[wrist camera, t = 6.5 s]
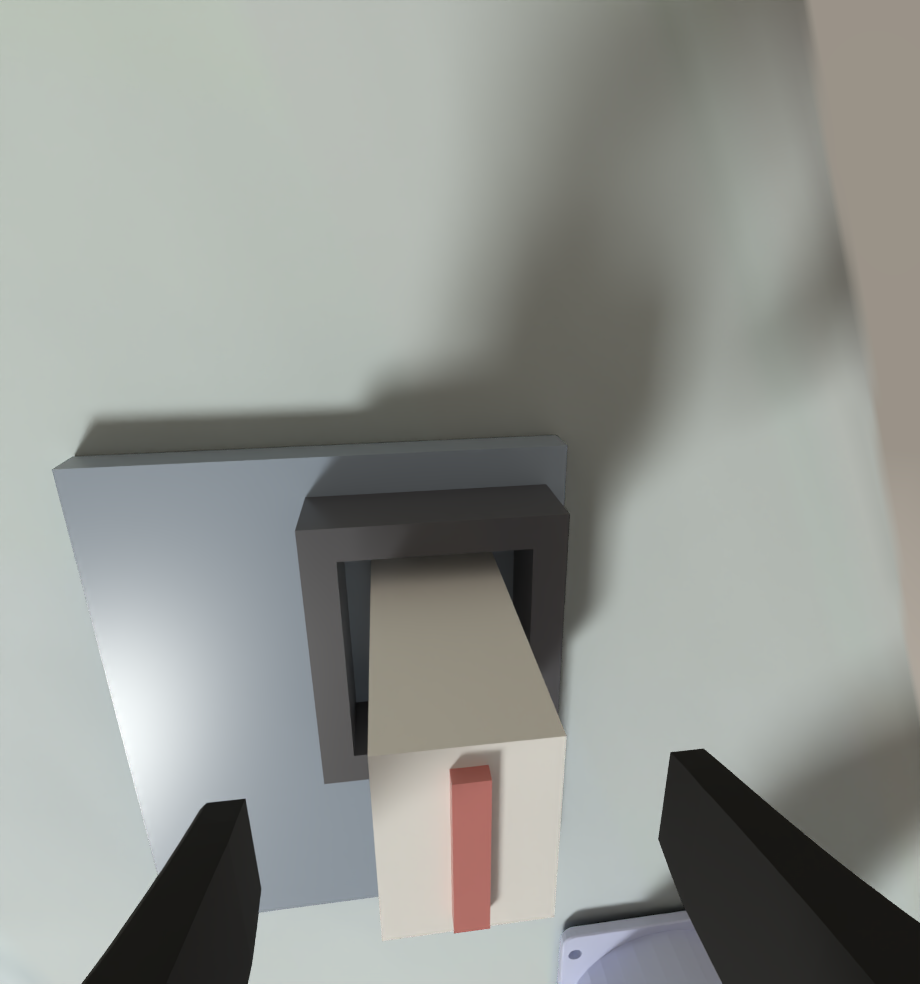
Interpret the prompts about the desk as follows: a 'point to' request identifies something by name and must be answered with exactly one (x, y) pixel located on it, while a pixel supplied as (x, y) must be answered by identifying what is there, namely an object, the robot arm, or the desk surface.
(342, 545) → the frame
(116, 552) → the board
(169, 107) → the desk surface
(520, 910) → the plug
